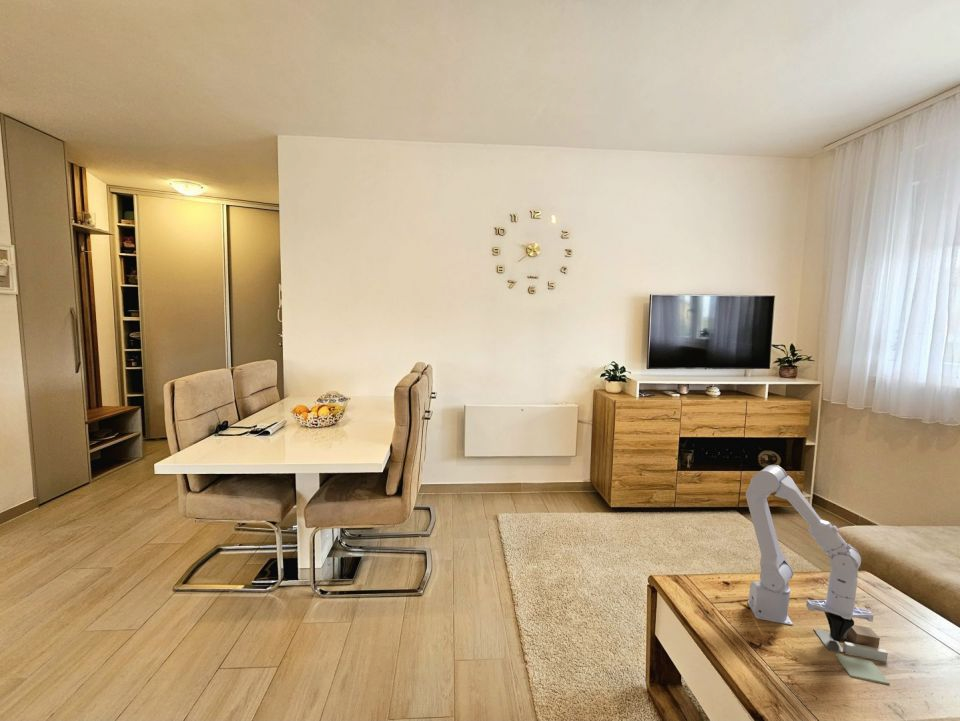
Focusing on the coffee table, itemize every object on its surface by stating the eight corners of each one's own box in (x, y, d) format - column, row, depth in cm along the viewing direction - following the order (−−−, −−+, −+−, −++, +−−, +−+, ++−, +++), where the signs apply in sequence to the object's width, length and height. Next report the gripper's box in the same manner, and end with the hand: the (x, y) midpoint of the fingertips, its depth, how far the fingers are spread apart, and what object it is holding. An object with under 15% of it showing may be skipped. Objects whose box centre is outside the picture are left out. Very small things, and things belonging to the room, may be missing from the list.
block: (854, 651, 115) (857, 633, 115) (846, 640, 119) (848, 623, 119) (877, 655, 114) (879, 638, 113) (868, 644, 118) (870, 627, 117)
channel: (827, 650, 115) (829, 641, 115) (813, 629, 123) (814, 621, 123) (886, 661, 112) (887, 653, 112) (868, 640, 119) (869, 631, 119)
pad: (850, 676, 107) (850, 674, 107) (835, 655, 113) (835, 653, 113) (889, 684, 105) (889, 683, 105) (871, 662, 111) (872, 661, 111)
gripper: (817, 595, 115) (811, 642, 116) (883, 607, 111) (876, 655, 112) (805, 580, 121) (799, 625, 123) (866, 590, 118) (860, 636, 119)
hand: (835, 638), depth 118 cm, fingers closed
